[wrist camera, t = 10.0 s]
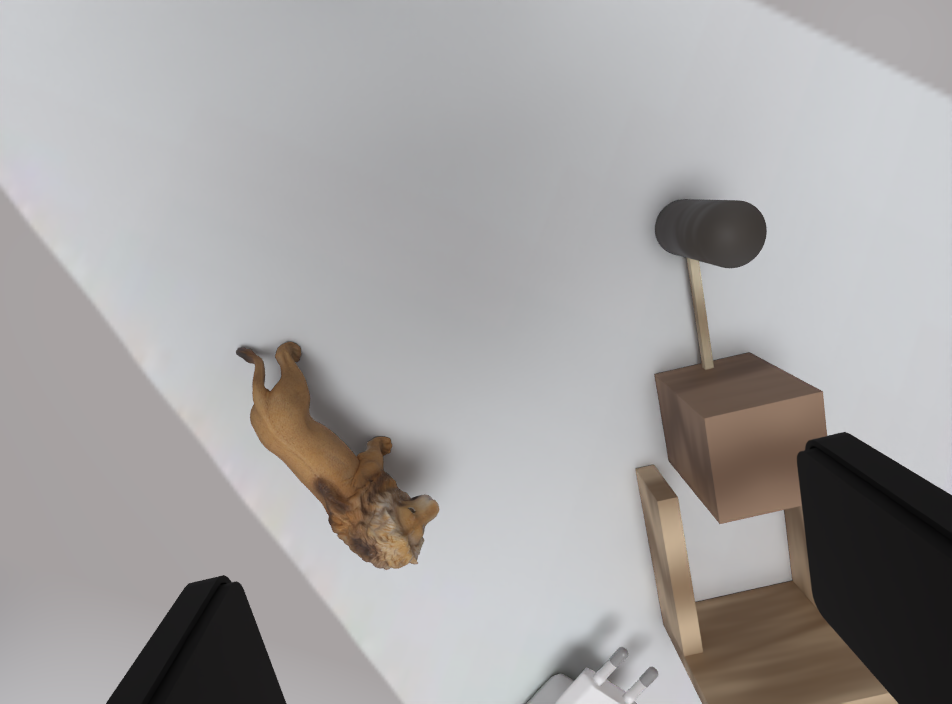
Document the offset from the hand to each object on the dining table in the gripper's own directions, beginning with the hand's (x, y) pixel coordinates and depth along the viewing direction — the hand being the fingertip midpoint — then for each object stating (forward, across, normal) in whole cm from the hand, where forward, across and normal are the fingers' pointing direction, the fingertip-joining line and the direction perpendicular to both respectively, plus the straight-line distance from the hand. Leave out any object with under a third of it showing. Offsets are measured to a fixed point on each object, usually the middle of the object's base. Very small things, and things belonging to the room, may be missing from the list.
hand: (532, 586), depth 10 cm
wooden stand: (+28, -13, +19) cm, 36 cm away
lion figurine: (+29, +10, +6) cm, 31 cm away
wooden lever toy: (+28, -13, +5) cm, 31 cm away
